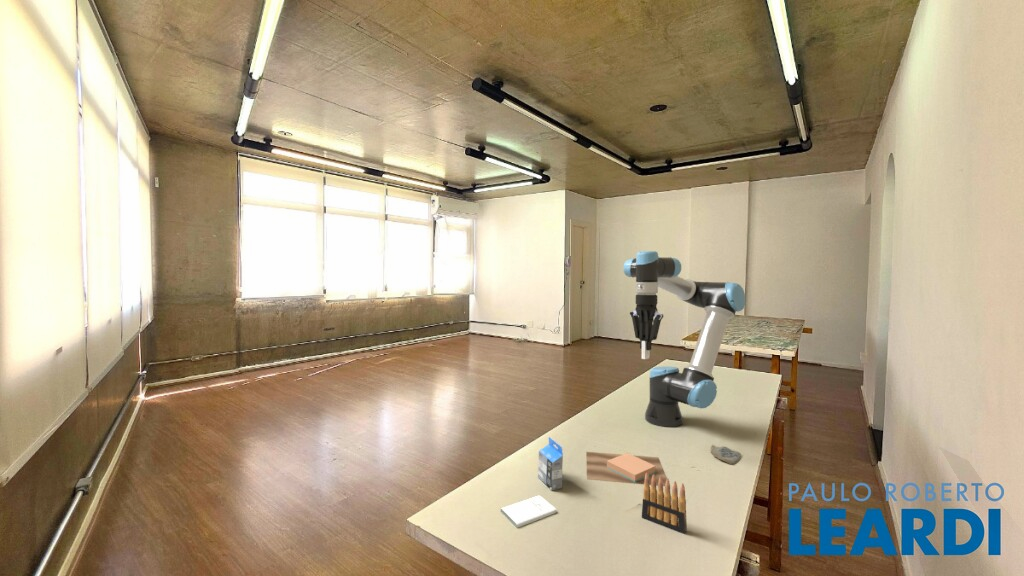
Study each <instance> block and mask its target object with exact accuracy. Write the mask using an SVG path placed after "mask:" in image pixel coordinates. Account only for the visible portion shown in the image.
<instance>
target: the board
mask: <svg viewBox="0 0 1024 576" xmlns="http://www.w3.org/2000/svg"><path fill="white" fill-rule="evenodd" d="M621 455H623V454H622V453H621V454H619V453H606V452H595V451H586V480H589V481H590V480H591V481H592V480H593V481H600V482H612V483H623V484H624V483H625V484H634V485H635V484H636V485H644V481H645V478H643V479H641V480H639V481H636V482H634V481H632V480H630V479H628V478H626V477H624V476H622V475H620V474H618V473H616V472H614V471H613V470H611V469H609V468H607V461H608V460H610V459H613V458H615V457H618V456H621ZM632 455H633V454H632ZM633 456H635V457H637V458H640V459H642V460H644V461H646V462H648V463H650V464H653V465H655V466H656V473H654V475H655V478H656V487H658V482H659V478H660V476H661V477H662V481H663V487H665V484H666V480H667V479H668V478H667V476H666V472H665V471H664V467H663V465H662V464H661V461H660V459H659V458H660V457H657V456H645V455H633ZM652 476H653V474H652V475H650V476H649V485H650V486H651V480H652Z"/></svg>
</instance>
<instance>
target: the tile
mask: <svg viewBox="0 0 1024 576" xmlns="http://www.w3.org/2000/svg"><path fill="white" fill-rule="evenodd" d="M635 456H636V455H634V456H633V454H631V453H628V452H626V453H624V454H622V455H621V456H618V457H615V458H613V459H610V460H608V461H607V468H609V469H611V470H613V471H614V472H616V473H618V474H620V475H622V476H624V477H626V478H628V479H630V480H632V481H634V482H636V481H639V480H641V479H643V478H645V475H646V473H648V475H649V476H650V475H652V474H654V473H656V466H655V465H653V464H650V463H648V462H646V461H644V460H642V459H640V458H637V457H635Z"/></svg>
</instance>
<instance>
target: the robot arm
mask: <svg viewBox="0 0 1024 576" xmlns="http://www.w3.org/2000/svg"><path fill="white" fill-rule="evenodd" d="M635 257H636V258H635ZM635 257H634V258H629V259H627V260H625V261H624V263H623V268H622V269H623V273H624V275H625V276H627V277H628V278H635V293H636V295H635V305H636V306H635V310H633V311H630V312H629V315H630V316H631V317H630V318H632V319H631V320H632V326H633V331H634V335H635V338H636V339H638V340H639V344H640V345H639V349H640V350H641V360H649V359H650V357H651V356H650V354H651V353H650V352H651V350H652V341H655V340H657V339H658V335H659V330H660V327H661V321H662V319H663V318H664V314H662V313H659V312H658V308H657V306H658V305H657V304H658V295H657V294H658V290H659V288H660V289H662V290H665V291H666V292H669V293H670V294H673V295H676V297H677V298H678V299H679V300H681V301H683V302H686V303H688V304H690V305H693V306H695V307H698V308H701V309H703V310H704V311H705V313H706V315H705V316H704V317H705V318H704V321H703V324H702V325H701V328H700V332H699V334H698V338H697V340H696V343H695V346H694V349H693V352H692V356H691V358H690V361H689V364H688V365H686V366H684V367H683V370H682V372H680V369H679V367H676V366H655V367H652V368H651V369H650V371H649V401H648V405H647V407H646V409H645V413H644V419H645V421H646V422H648V423H650V424H653V425H656V426H660V427H665V428H666V427H667V428H672V427H673V428H674V427H675V428H676V427H679V426H681V425H683V421H684V420H683V419H684V418H683V415H682V411H681V409H680V408H681V407H680V406H679V403H682V404H684V405H688V406H690V407H691V408H697V409H698V408H699V409H707V408H708V407H710V406H711V405H712V404H713V402H714V401H715V399H716V397H717V394H718V390H717V389H718V387H717V384H716V382H715V381H714V380H715V377H714V375H713V374H712V372H713V370H714V367H715V363H716V361H717V358H718V355H719V351H720V348H721V345H722V342H723V339H724V336H725V333H726V331H727V327H728V323H729V320H731V319H733V318H735V315H736V312H742V310H744V308H745V305H746V293H745V290H744V288H743V286H741V285H740V284H739V283H736V282H729V281H727V282H720V281H719V282H716V281H715V282H714V281H695V280H692V279H690V278H689V279H684V278H682V277H680V276H679V275H680V273H681V271H682V264H681V261H680V260H679V259H678V258H675V257H671V256H670V257H669V256H668V257H660V256H659V253H658V251H655V250H654V251H653V250H652V251H651V250H648V251H646V250H645V251H639V252H637V253H636V256H635Z"/></svg>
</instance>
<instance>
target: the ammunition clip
mask: <svg viewBox="0 0 1024 576" xmlns="http://www.w3.org/2000/svg"><path fill="white" fill-rule="evenodd" d="M642 489H643V490H642V491H643V492H642V493H643V495H642V496H643V497H642V505H641V507H642V508H641V518H642V519H643V520H646V521H649V522H651V523H654V524H657V525H659V526H661V527H665V528H667V529H670V530H673V531H675V532H677V533H680V534H683V535H686V534H687V533H686V532H687V529H688V528H687V500H686V488H685V485H684V483H683V482H682V483H681V485H680V489H679V488H678V484H677V482H676V480H674V481H673V484H672V491H671V483H670V480H669V478H667V480H666V484H665V486H663V481H662V477H661V476H660V478H659V482H658V486H656V478H655V475H654V474H653V476H652V480H651V485H649V475H648V473H646V475H645V481H644V484H643V488H642ZM678 489H679V491H678ZM678 492H679V494H678Z"/></svg>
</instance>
